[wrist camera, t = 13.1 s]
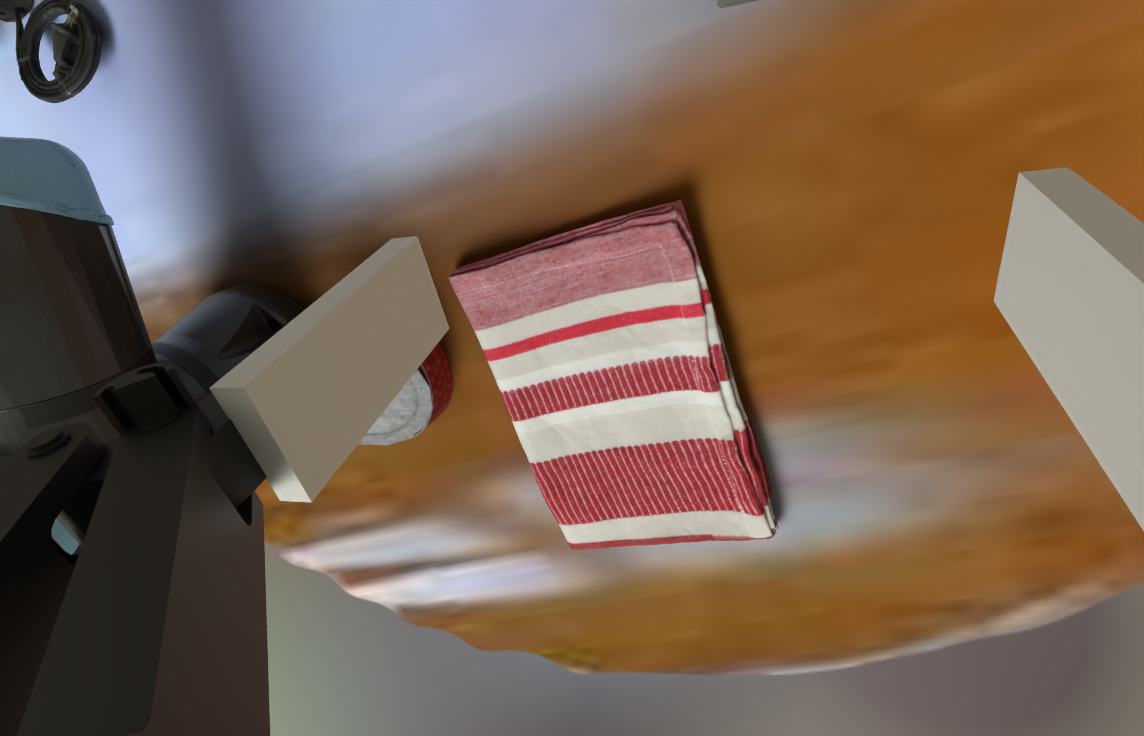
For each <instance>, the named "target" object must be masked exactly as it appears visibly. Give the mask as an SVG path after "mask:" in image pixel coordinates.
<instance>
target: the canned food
mask: <svg viewBox="0 0 1144 736" xmlns="http://www.w3.org/2000/svg"><path fill="white" fill-rule="evenodd" d="M452 391H453V379H452V374H451V368H450V366H449V363H448V360H447V357H446V355H445V353H444V352H443V350H442V348H441V346H440V345H439V343H438V344H437V345H436V346H435V347H434V349H433V350H432V351H431V352H430V354H429V355H428V356H427V357H426V359H425V360H424V361H423V362H422V364H421V365H420V366H419V367H418V369H417V370H416V371H415V373H414V374H413V375H412V376H411V378H410V379H409V380H408V381H407V383H406V384H405V385H404V386H403V388H402V389H401V390H400V391H399V393H398V394H397V395H396V397H395V398H394V399H393V400H392V402H391V403H390V404H389V405H388V407H387V408H386V409H385V410H384V412H383V413H382V414H381V415H380V417H379V418H378V419H377V421H376V422H375V423H374V424H373V426H372V427H371V428H370V429H369V431H368V432H367V433H366V434H365V436H364V437H363V438H362V439H361V441H360V442H359V443H358V444H361V445H372V444H375V445H390V444H393V443H396V442H399V441H405V440H408V439H411V438H414V437H415V436H417V435H419V434H420V433H421V432H422V431H423V430H424V429H425V428H426V427H428V426H429V425H430V424H431V423H432V422H433V421H434V420H436V419H437V418H438V417H439V416H440V415H441V414H442V413H443V412H444V411H445V410H446V408H447V406H448V404H449V402H450V400H451V395H452Z"/></svg>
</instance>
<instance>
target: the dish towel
mask: <svg viewBox="0 0 1144 736" xmlns="http://www.w3.org/2000/svg"><path fill="white" fill-rule="evenodd" d="M449 279H450V282H451V284H452V287H453V289H454V292H455V293H456V295H457V297H458V299H459V301H460V303H461V305H462V307H463V309H464V311H465V313H466V315H467V317H468V319H469V321H470V323H471V325H472V327H473V329H474V331H475V333H476V335H477V338H478V340H479V342H480V344H481V347H482V349H483V351H484V354H485V356H486V359H487V361H488V363H489V365H490V367H491V370H492V372H493V374H494V376H495V379H496V381H497V384H498V386H499V389H500V392H501V395H502V398H503V401H504V403H505V406H506V409H507V411H508V414H509V416H510V418H511V420H512V422H513V424H514V427H515V430H516V432H517V434H518V437H519V439H520V442H521V444H522V447H523V449H524V451H525V453H526V455H527V457H528V460H529V463H530V466H531V469H532V472H533V474H534V476H535V478H536V481H537V483H538V485H539V487H540V490H541V492H542V494H543V497H544V499H545V501H546V503H547V505H548V507H549V508H550V510H551V512H552V514H553V515H554V517H555V519H556V520H557V522H558V524H559V525H560V527H561V529H562V531H563V533H564V535H565V538H566V540H567V542H568V543H569V545H570V547H571V549H573V550H579V549H597V548H598V549H600V548H610V547H621V546H634V545H657V544H672V543H680V542H700V541H707V540H713V541H715V540H720V541H731V540H735V541H742V540H753V539H769V538H772V537H773V536H774V535H775V534H776V530H777V529H778V524H777V521H776V519H775V517H774V514H773V511H772V507H771V503H770V497H771V491H770V484H769V477H768V473H767V469H766V465H765V462H764V458H763V456H762V452H761V449H760V446H759V443H758V440H757V438H756V435H755V433H754V430H753V428H752V426H751V424H750V422H749V421H748V418H747V415H746V413H745V411H744V408H743V405H742V402H741V400H740V397H739V393H738V389H737V386H736V383H735V379H734V375H733V371H732V368H731V364H730V361H729V357H728V354H727V351H726V348H725V344H724V340H723V336H722V333H721V330H720V327H719V324H718V320H717V316H716V312H715V308H714V305H713V302H712V299H711V295H710V291H709V288H708V285H707V282H706V279H705V277H704V274H703V270H702V267H701V263H700V260H699V256H698V253H697V250H696V247H695V243H694V239H693V235H692V232H691V228H690V225H689V222H688V217H687V212H686V210H685V207H684V205H683V202H682V201H681V200H677V201H674V202H671V203H666V204H662V205H658V206H655V207H651V208H648V209H643V210H640V211H636V212H633V213H630V214H627V215H623V216H619V217H615V218H611V219H607V220H604V221H601V222H598V223H594V224H591V225H588V226H585V227H582V228H578V229H575V230H571V231H568V232H565V233H562V234H559V235H555V236H553V237H550V238H546V239H543V240H540V241H537V242H534V243H532V244H529V245H526V246H524V247H521V248H518V249H515V250H512V251H509V252H506V253H502V254H499V255H496V256H493V257H491V258H486V259H483V260H480V261H477V262H474V263H471V264H468V265H465V266H462V267H459V268H457V269H455V270H453V274H452V275H450V276H449Z"/></svg>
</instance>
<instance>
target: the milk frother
mask: <svg viewBox="0 0 1144 736" xmlns="http://www.w3.org/2000/svg"><path fill="white" fill-rule="evenodd" d="M32 3H33V0H0V20H2V21H6V22H16V53H17V54H16V56H17V62H18V66H19V73H20V76H21V80H22V81H23V82H24V84H25V86H26V88H27V89H28V90H29V92H30V93H31V94H33V95H34V96H35V97H37V98H39V99H41V100H43V101H46V102H50V103H59V102H63V101H65V100H68V99H70V98H72V97H74V96H75V95H76V94H78V93H79V92H81V91H82V90H83V89H84V88H85V87H86V86H87V85H88V84H89V82H90V81H91V79H92V78H93V76H94V74H95V72H96V70H97V68H98V65H99V62H100V56H101V38H100V32H99V29H98V25H97V23H96V22H95V20H94V18H93V16H92V15H91V13H90V12H89V11H88V10H87V9H86V8H85V7H84V6H83V5H81V4H80V3H78V2H76V1H74V0H44V1H42V3H40V4H39V5H38V6H37V7H36V8H35V9H34V11H33V12H32V14H31V15H30V17H29V19H28V21H27V24H26V26H25V29H24V28H23V24H22V20H21V19H23V18H24V17H25V16H26V15H27V13H28V12H29V10H30V8H31V5H32ZM63 14H69V15H68V16H67V19H66V22H65V23H63V24H56V23H51V27H53V28H54V29H55V34H54V41H53V51H54V60H55V61H56V65H55V71H54V72H53V75H54V76H55V78H56V79H54V80H52V81H48V80H47V79H46V78H45V76H44V74H43V72H42V70H41V67H40V61H39V46H40V41H41V38H42V35H43V33H44V31H45V29H46V28H47V26H48V25H49V23H50V22H51V21H53V20H54V19H55V18H57V17H58V16H60V15H63Z"/></svg>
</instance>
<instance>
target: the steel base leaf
mask: <svg viewBox="0 0 1144 736" xmlns="http://www.w3.org/2000/svg"><path fill="white" fill-rule="evenodd" d="M751 1H756V0H718V6H719V7H720V8H723V7H728V6H733V5H737V4H742V3H747V2H751Z"/></svg>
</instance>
